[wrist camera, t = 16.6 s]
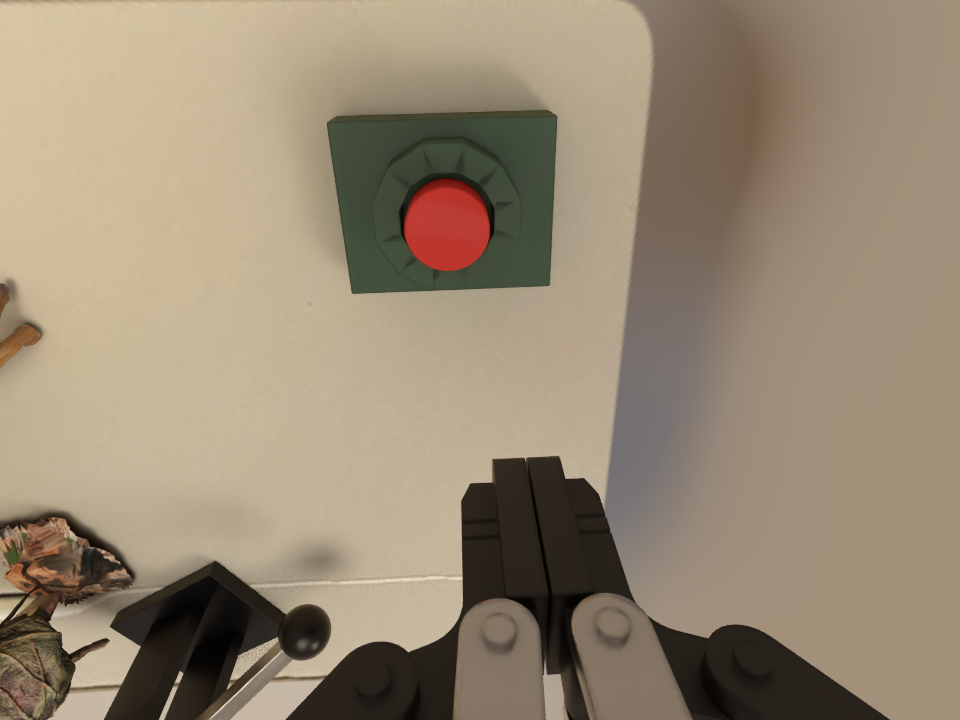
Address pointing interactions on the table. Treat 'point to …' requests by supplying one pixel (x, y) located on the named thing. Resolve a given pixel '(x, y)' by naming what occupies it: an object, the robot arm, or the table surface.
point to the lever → (276, 658)
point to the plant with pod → (46, 613)
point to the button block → (437, 155)
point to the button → (447, 225)
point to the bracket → (189, 643)
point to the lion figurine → (15, 333)
